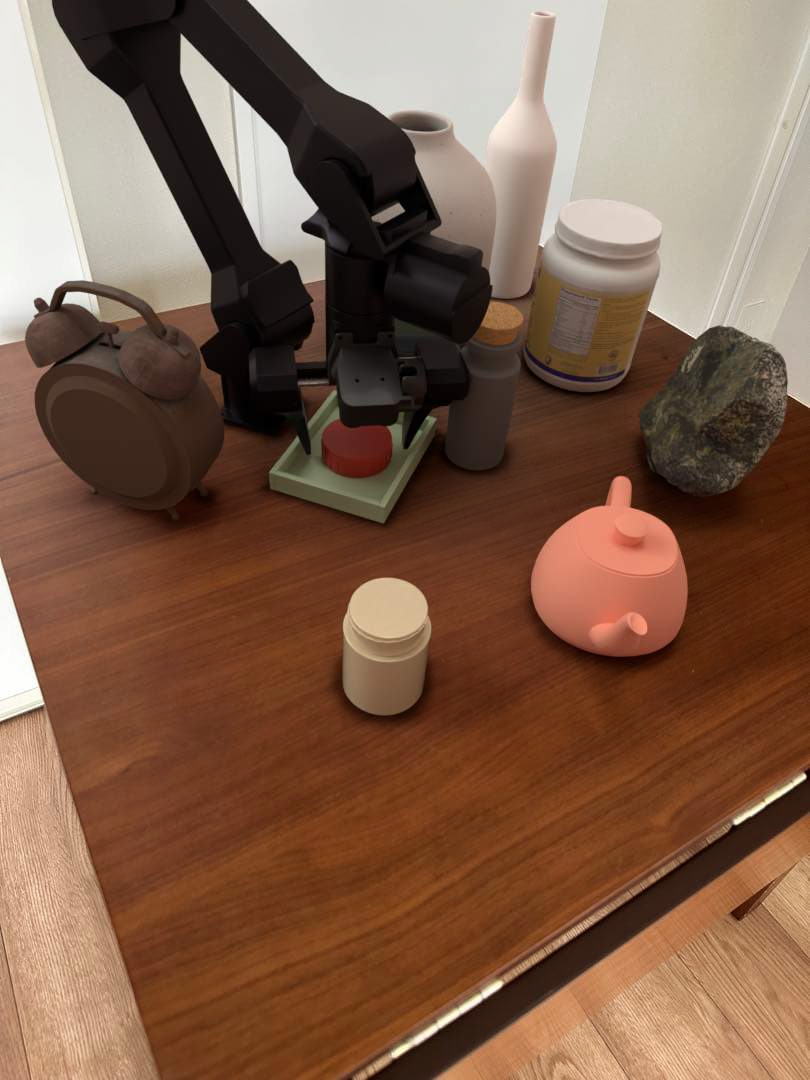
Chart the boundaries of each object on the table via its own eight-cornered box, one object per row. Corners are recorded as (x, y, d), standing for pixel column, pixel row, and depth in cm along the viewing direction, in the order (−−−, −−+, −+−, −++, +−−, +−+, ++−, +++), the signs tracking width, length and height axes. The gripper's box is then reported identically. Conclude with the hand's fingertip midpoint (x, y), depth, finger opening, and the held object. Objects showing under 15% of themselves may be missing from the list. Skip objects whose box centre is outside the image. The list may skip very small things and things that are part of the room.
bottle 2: (533, 275, 104) (585, 10, 82) (526, 304, 98) (579, 27, 77) (474, 265, 105) (510, 0, 83) (463, 293, 99) (499, 16, 78)
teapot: (667, 548, 69) (703, 466, 62) (687, 723, 56) (735, 643, 49) (531, 527, 69) (552, 443, 63) (521, 694, 57) (546, 612, 50)
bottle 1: (499, 476, 74) (527, 337, 64) (439, 465, 75) (457, 325, 64) (506, 439, 78) (533, 303, 68) (449, 429, 79) (467, 292, 68)
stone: (630, 424, 81) (675, 292, 71) (730, 442, 80) (791, 311, 70) (629, 516, 71) (680, 379, 61) (743, 538, 70) (816, 402, 60)
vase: (388, 295, 97) (399, 82, 80) (503, 344, 91) (542, 122, 74) (299, 350, 87) (290, 118, 70) (421, 408, 81) (443, 169, 64)
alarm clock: (242, 489, 70) (219, 284, 56) (201, 542, 66) (165, 331, 51) (103, 449, 73) (48, 243, 59) (55, 496, 68) (-19, 284, 54)
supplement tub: (539, 327, 94) (569, 185, 82) (638, 355, 91) (683, 212, 79) (506, 376, 86) (533, 227, 74) (612, 409, 83) (658, 258, 71)
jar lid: (402, 446, 76) (403, 427, 74) (373, 487, 71) (374, 468, 69) (341, 427, 77) (341, 408, 76) (309, 465, 73) (308, 446, 71)
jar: (329, 699, 56) (328, 625, 50) (361, 637, 60) (364, 562, 54) (407, 727, 54) (416, 655, 48) (434, 662, 58) (446, 588, 52)
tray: (269, 488, 71) (268, 472, 69) (333, 406, 80) (333, 389, 79) (383, 523, 69) (384, 507, 67) (435, 434, 78) (437, 418, 77)
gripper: (245, 356, 55) (260, 514, 66) (497, 347, 58) (471, 500, 70) (242, 282, 63) (256, 434, 74) (464, 277, 66) (446, 424, 77)
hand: (357, 449), depth 74 cm, fingers open, 9 cm apart
